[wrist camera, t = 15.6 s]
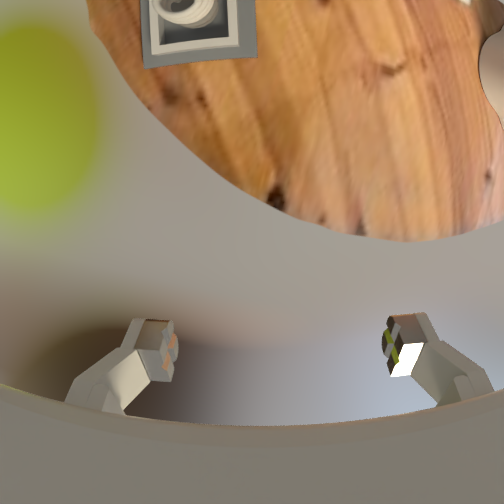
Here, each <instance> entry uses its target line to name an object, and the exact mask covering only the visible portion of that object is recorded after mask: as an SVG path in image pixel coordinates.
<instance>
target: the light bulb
mask: <svg viewBox="0 0 504 504" xmlns="http://www.w3.org/2000/svg"><path fill="white" fill-rule="evenodd" d="M152 5H153V8H154V10H155V11H156V12H157V13H158V14H159V15H160V16H161V17H162V18H164V19H166V20H168V21H170V22H172V23H176V24H178V25H181V26H183V27H186V28H193V29H194V28H200V27H204V26H206V25H208V24H209V23H211V22H212V21H213V20H214V18H215V17H216V16H217V13H218V11H219V8H218V0H152Z"/></svg>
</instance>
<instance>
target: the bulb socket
mask: <svg viewBox="0 0 504 504" xmlns="http://www.w3.org/2000/svg"><path fill="white" fill-rule="evenodd" d="M140 6H141V30H142V48H143V62H144V69H152V68H158V67H164V66H171V65H178V64H185V63H194V62H203V61H214V60H226V59H242V58H258V55H257V32H256V11H255V0H218V8H219V11H218V13H217V16H216V17H215V18H214V20H213V21H212V22H211V23H209V24H208V25H206V26H204V27H200V28H194V29H193V28H186V27H183V26H181V25H178V24H176V23H172V22H170V21H168V20H166V19H164V18H162V17H161V16H160V15H159V14H158V13H157V12H156V11H155V10H154V8H153V5H152V0H140Z"/></svg>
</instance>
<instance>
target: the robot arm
mask: <svg viewBox="0 0 504 504" xmlns="http://www.w3.org/2000/svg"><path fill="white" fill-rule="evenodd" d="M479 72H480V79H481V83H482V87H483V90H484V93H485V95H486V97H487V99H488V101H489V103H490V104H491V106H492V107H493V108H494V110H495V111H496V112H497V114H498V116H499V119H500V122H501V125H502V128H503V130H504V25H503V27H502V29H501V31H499V32H498V33H495V34H493V35H491V36H490V37H489V38H488V39H487V40H486V42H485V43H484V45H483V47H482V50H481V54H480V60H479ZM386 324H387V327H388V328H387V329H386V330H385V331H384V333H383V336H382V350H383V353H384V355H385V356H386V357H387V358H389V359H388V362H387V366H388V369H389V372H390V375H391V376H401V375H410V374H411V375H410V376H411V377H412V378H413V379H414V380H415V381H416V382H417V383H418V384H419V385H420V386H421V387H422V388H424V390H425V391H426V392H427V393H428V394H429V395H430V396H431V397H432V398H433V399H434V400H435V401H436V402H437V403H438V404H437V405H436V407H434V408H430V409H425V410H420V411H415V412H409V413H404V414H398V415H392V416H386V417H379V418H372V419H364V420H356V421H347V422H338V423H325V424H311V425H291V426H232V425H210V424H195V423H183V422H173V421H164V420H155V419H148V418H140V417H134V416H128V415H126V414H125V413H124V411H123V409H124V408H125V407H126V406H127V405H128V404H129V403H130V402H131V401H132V400H133V399H134V398H135V397H136V396H137V395H138V394H139V393H140V392H141V391H142V390H143V389H144V388H145V387H146V386H147V384H149V383H150V381H166V382H171V379H172V376H173V372H174V366H173V362H174V361H175V360H176V359H177V356H178V339H177V336H176V335H175V334H174V333H173V330H174V325H173V322H172V321H171V320H157V319H140V318H134V319H133V320H132V322H131V324H130V326H129V329H128V331H127V333H126V335H125V338H124V340H123V343H122V345H121V347H120V348H116V349H115V350H113V351H112V352H110V353H109V354H108V355H106V356H105V357H104V358H102V359H101V360H100V361H99V362H97V363H96V364H94V365H93V366H91V367H90V368H89V369H87V370H86V371H85V372H83V373H82V374H81V375H79V376H78V377H77V378H75V379H74V381H73V384H72V386H71V388H70V390H69V392H68V395H67V397H66V399H65V402H60V401H56V400H52V399H48V398H45V397H41V396H37V395H34V394H31V393H27V392H24V391H21V390H18V389H15V388H12V387H9V386H6V385H3V384H0V504H504V389H501V390H498V391H494V389H493V387H492V385H491V383H490V381H489V378H488V376H487V374H486V372H485V370H484V369H483V368H481V367H480V366H478V365H477V364H476V363H474V362H473V361H472V360H470V359H469V358H467V357H466V356H465V355H463V354H461V353H460V352H459V351H457V350H456V349H454V348H453V347H452V346H450V345H449V344H447V343H446V342H444V341H440V340H439V338H438V336H437V334H436V332H435V330H434V328H433V326H432V324H431V322H430V320H429V318H428V316H427V314H426V313H424V312H422V313H413V314H403V315H392V316H389V318H388V320H387V323H386Z"/></svg>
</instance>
